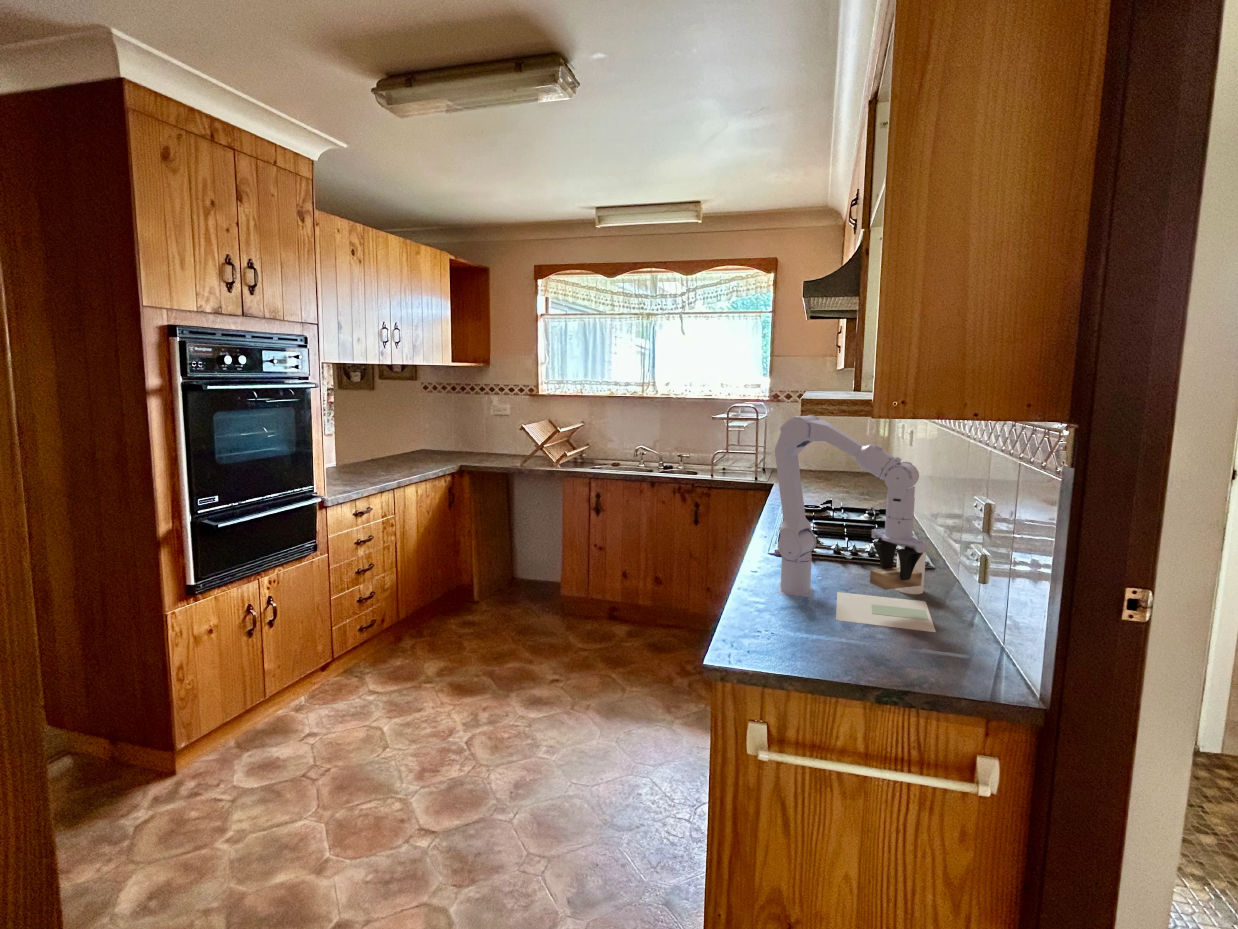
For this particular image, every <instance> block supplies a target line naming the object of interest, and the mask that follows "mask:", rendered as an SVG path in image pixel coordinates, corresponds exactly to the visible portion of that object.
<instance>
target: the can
mask: <svg viewBox="0 0 1238 929" xmlns="http://www.w3.org/2000/svg"><path fill="white" fill-rule="evenodd" d="M898 549H905V547H903V546H900V545H899V547H898ZM896 553H897V552H896ZM926 556H927V552H923V554H922V555H921V557H920V558H919V560H918V561H917V563H916V565H915V567H914V569H913V570H916V571H919V572H922V580H921V586H913V587H905V588H897V589H895V591H897V592H900V593H902V594H907V595H921V594H923V593H924V589H925V588H924V586H925V573H926V572H925V571H926V561H927V558H926ZM897 567H900V560H899V556H898V553H897V556H896V568H897Z"/></svg>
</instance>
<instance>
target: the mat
mask: <svg viewBox="0 0 1238 929" xmlns="http://www.w3.org/2000/svg"><path fill="white" fill-rule="evenodd" d="M835 621H839V622H847V623H856V624H862V625H863V624H864V625H872V626H880V627H890V628H897V629H898V628H899V629H906V630H912V631H913V630H914V631H923V632H931V633H932V632H933V633H936V629H935V625H934V622H933V619H932V615H931V613H930V611H929V607H928V605H927V601H924V600H915V599H908V598H907V599H905V598H896V597H887V596H879V595H870V594H869V595H867V594H858V593H848V592H840V591H839V592H838V591H837V594H836V612H835Z"/></svg>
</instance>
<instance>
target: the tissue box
mask: <svg viewBox="0 0 1238 929" xmlns="http://www.w3.org/2000/svg"><path fill="white" fill-rule="evenodd" d="M921 580H922V572H919V571H916V570H913V572H912V575H911V578H910V580H901V578H900V567H897V566H896V567H893V568H887V569H882V568H880V569H872V570H870V574H869V584H871V585H872V586H876V587H878V588H880V589H883V590H885V591H887V590H896V589H897V588H905V587H913V586H921Z"/></svg>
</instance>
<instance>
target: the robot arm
mask: <svg viewBox="0 0 1238 929" xmlns="http://www.w3.org/2000/svg"><path fill="white" fill-rule="evenodd" d="M779 428H780V429H779V431H780V434H779V437H778V439H777V443H776V445H775V448H774V456H775V465H776V472H777V473H776V474H777V479H778V488H779V489H778V490H779V496H780V503H781V504H780V505H781V510H782V511H781V512H782V518H783V519H782V523H781V526H780V528H779V539H778V543H777V548H778V552H779V554H780V555H781V568H780V583H779V587H778V590H777V594H781V595H790V596H798V597H807V598H808V597H809V598H812V592H813V587H814V586H813V585H812V584H811V582H812V581H811V580H812V561H813V560H812V559H813V557H812V551H813V550H814V549H816V546H817V537H816V535H815V534H814V532H813V530H812V525H811V523H810V521H809V519H808V518H806V509H805V503H804V501H805V500H804V494H803V486H802V480H801V479H802V478H801V473H800V472H801V471H800V463H799V454H800V453H801V452H802V451H803V450H804V448H806V446H807V445H809V444H811V443H812V442H826V443H828V444H830V445H831V446H833V447H834V448H837V449H838V450H840V451H842V452H844V453H846V454H848V455H850V456H852V457H854V459H855V461H856V465H857V466H858V467H860V468H861V469H863V470H864V471H867V472H868V473H870V474H871V475H873V476H875V477H876V478H878V479H880V480H882V481H884V484H885V486H886V487H887V492H886V493H887V494H886V503H885V504H886V507H885V509H886V510H885V522H884V529H880V528H877V529H876V528H875V529H874V528H873V529H871V538H872V539H878V540H877V541H873V543H872V545H873V548H874V549H875V550H876V553H877V557H878V559H879V562H880V567H881V568H880V569H887V568H894V567H893V566H894V558H895V555H896V554H895V553H898V556H899V560H900V578H901V580H910V578H911V575H912V572H913V569H914V567H915V565H916V563H917V561H918V560H919V558H920V557H921V555H922V554H923V552H926V553H927V552H928V551H927V550H928V543H927V542H924V541H922V540H919V538H916V537H914V536H913V529H914V514H915V499H916V498H915V493H916V492H915V491H916V490H915V489H916V486H915V485H916V484H917V483H918V481H919V479H920V472H919V470H918V469H917V468H918V467H916V465H913V464H912V462H909V461H902V458H901V457H900V456H896V457H895V456H894V455H891V454H890V453H888V452H886V451H884V450H883V448H884V447H883V446H881V445H880V444H876V445H874V444H871V443H870V444H867V445H863V444H862V443H860V442H859V441H857V440H856V439H855V438H852V437H851V436H850V435H848V434H846V433H845V432H843V431H841V430H840V429H839V428H838V427H835V426H834V425H833V424H831V423H830V422H828V421H827V420H825V419H820V418H819V417H818V416H816V415H813V414H807V415H804V416H803V415H802V416H793V417H790V418H788V419H787V420H786V421H785V422H784V423H783V424H782V425H781V426H780V427H779ZM898 546H899V547H900V546H903V547H905V549H899V548H898V549H897V547H898Z"/></svg>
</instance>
